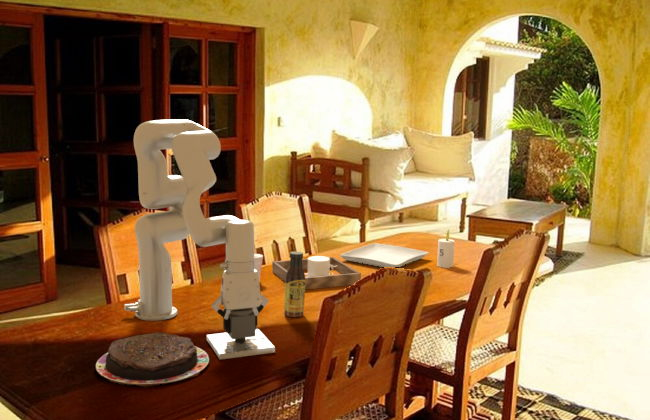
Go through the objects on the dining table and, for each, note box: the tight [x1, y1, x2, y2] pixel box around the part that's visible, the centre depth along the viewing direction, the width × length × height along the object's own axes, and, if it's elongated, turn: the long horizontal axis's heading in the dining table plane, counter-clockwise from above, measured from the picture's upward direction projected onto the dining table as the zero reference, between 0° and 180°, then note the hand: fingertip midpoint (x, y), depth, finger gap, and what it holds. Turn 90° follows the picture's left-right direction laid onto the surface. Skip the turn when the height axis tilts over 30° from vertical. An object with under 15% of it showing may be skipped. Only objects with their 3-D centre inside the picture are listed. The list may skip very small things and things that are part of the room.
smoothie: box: [254, 253, 264, 281], centre depth 254 cm, size 6×6×14 cm
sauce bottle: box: [283, 251, 306, 318], centre depth 217 cm, size 7×6×20 cm
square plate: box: [339, 242, 430, 268], centre depth 290 cm, size 27×27×4 cm
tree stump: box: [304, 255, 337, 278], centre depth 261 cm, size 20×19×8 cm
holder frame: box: [271, 256, 362, 290], centre depth 262 cm, size 25×26×4 cm
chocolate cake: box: [95, 331, 210, 388], centre depth 178 cm, size 28×28×7 cm
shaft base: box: [206, 328, 276, 360], centre depth 192 cm, size 15×15×7 cm
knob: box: [228, 308, 255, 339], centre depth 191 cm, size 7×7×8 cm
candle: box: [436, 229, 455, 269], centre depth 282 cm, size 6×6×15 cm
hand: (240, 329), depth 191 cm, fingers closed on knob, 6 cm apart
